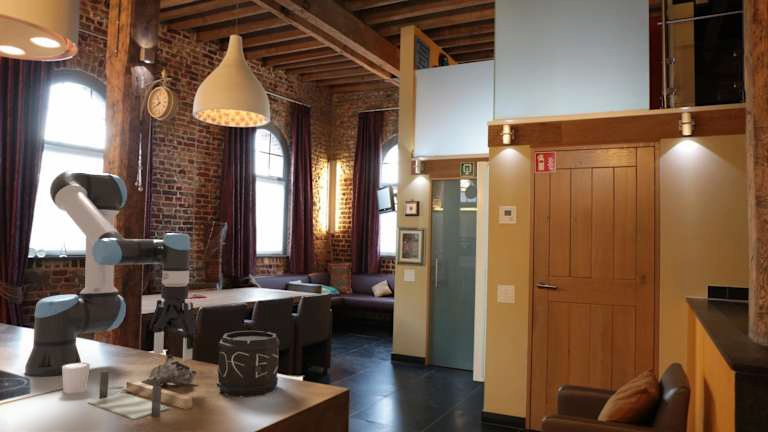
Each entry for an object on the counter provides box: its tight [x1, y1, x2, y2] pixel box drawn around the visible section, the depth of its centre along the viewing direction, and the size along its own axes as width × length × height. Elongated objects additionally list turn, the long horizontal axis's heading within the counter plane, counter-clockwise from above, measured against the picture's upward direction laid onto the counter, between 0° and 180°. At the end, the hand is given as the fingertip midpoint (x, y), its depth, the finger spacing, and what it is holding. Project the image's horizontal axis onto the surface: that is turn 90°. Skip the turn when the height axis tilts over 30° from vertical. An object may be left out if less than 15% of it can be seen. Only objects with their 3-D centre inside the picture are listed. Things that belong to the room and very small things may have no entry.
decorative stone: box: [141, 354, 197, 387], centre depth 160 cm, size 16×9×10 cm, turn 133°
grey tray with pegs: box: [87, 370, 193, 420], centre depth 142 cm, size 26×14×7 cm, turn 57°
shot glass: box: [61, 362, 91, 394], centre depth 153 cm, size 7×7×7 cm
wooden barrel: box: [216, 330, 280, 398], centre depth 159 cm, size 18×18×16 cm
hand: (172, 356), depth 161 cm, fingers open, 13 cm apart
